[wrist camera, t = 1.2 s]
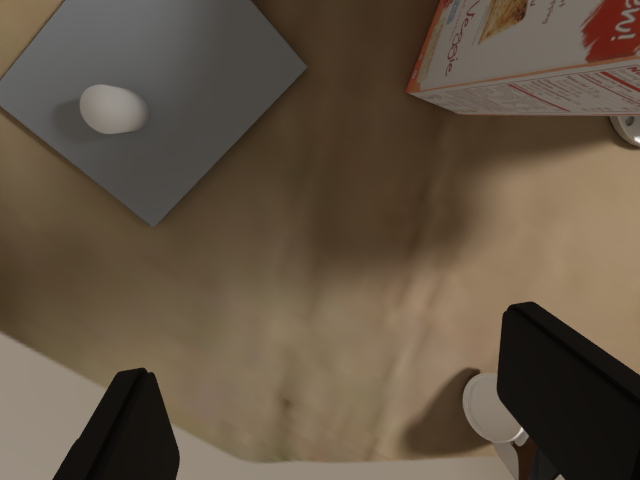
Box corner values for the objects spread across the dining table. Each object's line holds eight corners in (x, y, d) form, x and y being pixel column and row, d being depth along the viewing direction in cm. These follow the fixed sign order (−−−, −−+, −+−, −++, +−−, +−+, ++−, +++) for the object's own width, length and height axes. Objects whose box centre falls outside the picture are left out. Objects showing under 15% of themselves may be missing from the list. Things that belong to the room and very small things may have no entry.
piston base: (160, -103, 24) (133, -156, 19) (306, 68, 28) (313, 59, 24) (-3, 96, 26) (-62, 92, 21) (156, 224, 31) (137, 244, 26)
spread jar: (532, 432, 46) (614, 530, 35) (449, 442, 44) (508, 548, 34) (552, 354, 42) (652, 437, 31) (462, 362, 41) (534, 452, 30)
